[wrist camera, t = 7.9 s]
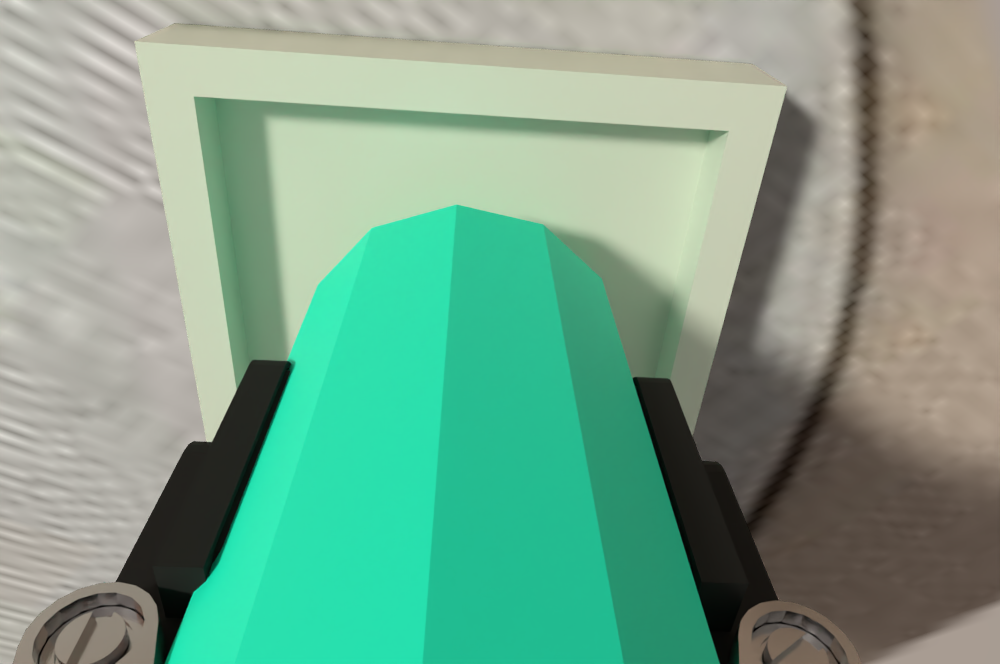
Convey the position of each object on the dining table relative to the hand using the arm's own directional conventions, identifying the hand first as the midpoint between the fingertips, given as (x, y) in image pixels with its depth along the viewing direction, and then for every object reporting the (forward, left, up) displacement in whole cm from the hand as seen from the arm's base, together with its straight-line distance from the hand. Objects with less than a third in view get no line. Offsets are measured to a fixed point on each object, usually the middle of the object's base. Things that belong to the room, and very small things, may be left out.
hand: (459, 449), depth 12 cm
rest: (0, 0, -5) cm, 5 cm away
